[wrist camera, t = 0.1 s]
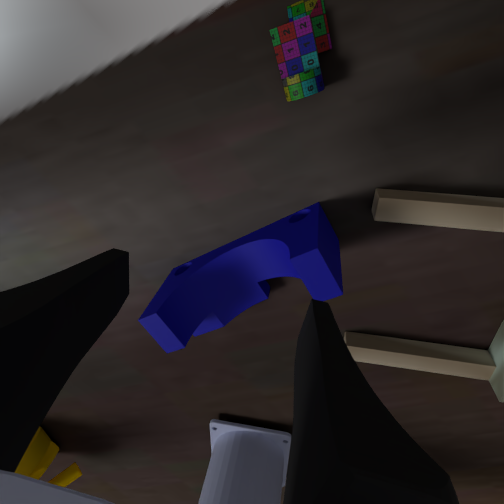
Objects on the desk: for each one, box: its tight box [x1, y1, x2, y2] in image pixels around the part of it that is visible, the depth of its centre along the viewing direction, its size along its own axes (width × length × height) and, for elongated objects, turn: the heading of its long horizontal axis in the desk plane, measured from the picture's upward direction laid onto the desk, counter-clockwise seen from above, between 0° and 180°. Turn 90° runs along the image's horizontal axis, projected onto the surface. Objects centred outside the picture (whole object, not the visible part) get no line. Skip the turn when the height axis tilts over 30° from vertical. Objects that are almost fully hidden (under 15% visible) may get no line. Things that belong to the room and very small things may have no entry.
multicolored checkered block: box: [270, 0, 332, 101], centre depth 17 cm, size 4×3×2 cm, turn 18°
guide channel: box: [344, 188, 504, 402], centre depth 21 cm, size 13×12×3 cm
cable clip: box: [138, 202, 343, 353], centre depth 22 cm, size 12×4×6 cm, turn 121°
